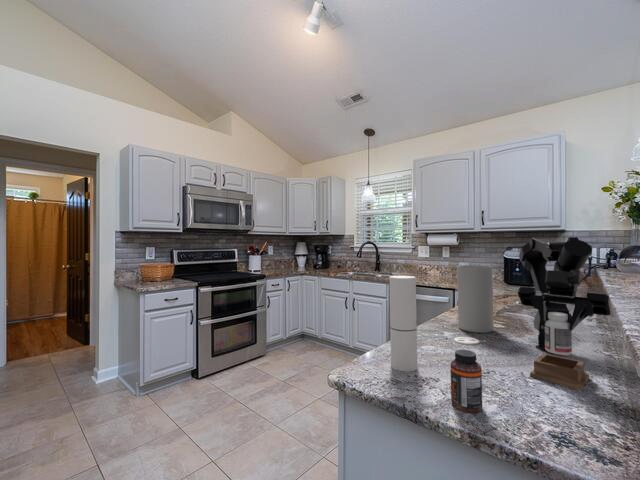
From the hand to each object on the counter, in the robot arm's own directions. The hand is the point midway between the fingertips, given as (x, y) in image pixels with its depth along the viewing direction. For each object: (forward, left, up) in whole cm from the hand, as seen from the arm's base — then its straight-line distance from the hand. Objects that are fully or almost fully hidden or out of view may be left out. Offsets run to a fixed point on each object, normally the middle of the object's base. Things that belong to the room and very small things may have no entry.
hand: (556, 326), depth 76 cm
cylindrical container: (+35, -13, -13) cm, 39 cm away
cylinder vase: (-7, -45, -13) cm, 47 cm away
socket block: (-1, -1, -13) cm, 13 cm away
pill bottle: (-1, -1, -7) cm, 7 cm away
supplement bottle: (+30, +9, -13) cm, 34 cm away
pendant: (+4, -31, -13) cm, 34 cm away
